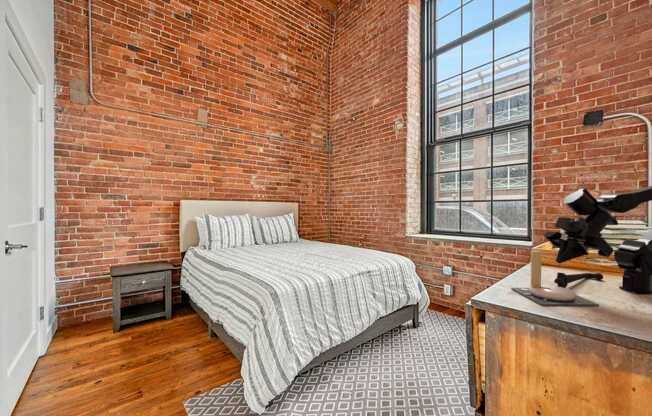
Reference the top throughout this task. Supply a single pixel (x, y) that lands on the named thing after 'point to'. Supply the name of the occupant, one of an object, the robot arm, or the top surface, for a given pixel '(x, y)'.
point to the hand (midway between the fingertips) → (557, 262)
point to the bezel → (549, 302)
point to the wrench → (574, 278)
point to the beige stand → (546, 290)
